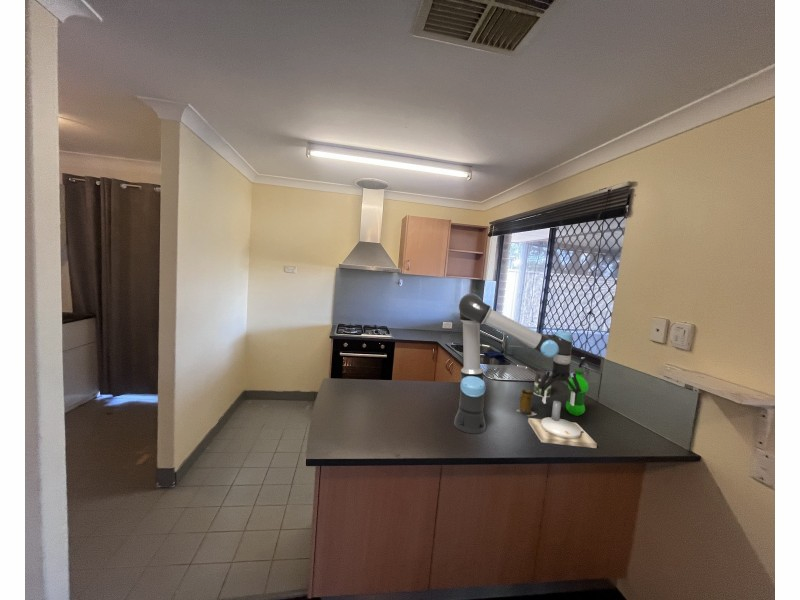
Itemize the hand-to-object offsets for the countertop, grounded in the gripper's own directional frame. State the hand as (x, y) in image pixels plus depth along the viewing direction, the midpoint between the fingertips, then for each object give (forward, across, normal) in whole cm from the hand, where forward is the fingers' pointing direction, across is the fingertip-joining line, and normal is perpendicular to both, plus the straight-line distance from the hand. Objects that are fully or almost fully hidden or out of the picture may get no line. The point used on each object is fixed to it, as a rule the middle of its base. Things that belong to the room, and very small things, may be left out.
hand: (557, 403), depth 157 cm
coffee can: (+13, +9, +46) cm, 49 cm away
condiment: (+13, -10, +15) cm, 22 cm away
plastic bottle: (+13, +18, +20) cm, 30 cm away
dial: (+10, 0, -6) cm, 12 cm away
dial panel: (+12, 0, -6) cm, 14 cm away
